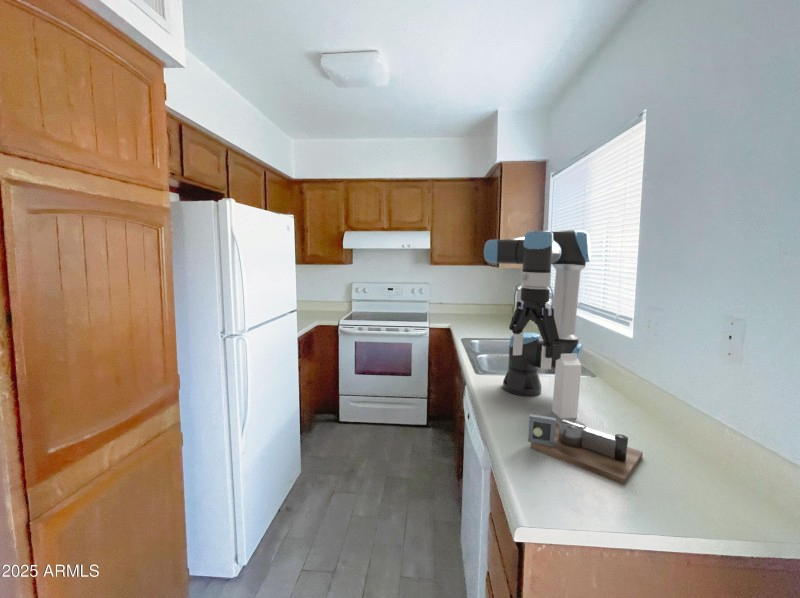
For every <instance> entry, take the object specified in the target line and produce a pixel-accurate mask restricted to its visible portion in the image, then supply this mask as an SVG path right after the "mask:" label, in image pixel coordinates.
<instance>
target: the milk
mask: <svg viewBox="0 0 800 598" xmlns="http://www.w3.org/2000/svg"><path fill="white" fill-rule="evenodd" d="M581 375H582V364H581V362H580V360H578V359H577V354H561V358H560V359H558V360H556V367H555V370H554V380H553V381H554V383H553V384H554V385H553V395H552V396H553V397H552V398H553V399H552V409H551V412H553V414H555V416H557V417H558V418H559V419H560V420H564V419H570V420H571V419H578V413H579V399H580V388H581V387H580V386H581V377H582V376H581Z"/></svg>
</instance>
